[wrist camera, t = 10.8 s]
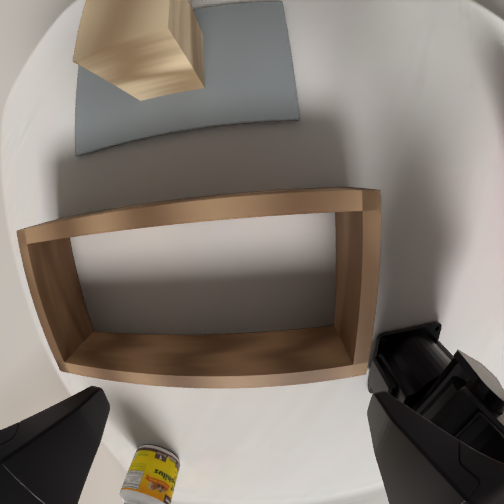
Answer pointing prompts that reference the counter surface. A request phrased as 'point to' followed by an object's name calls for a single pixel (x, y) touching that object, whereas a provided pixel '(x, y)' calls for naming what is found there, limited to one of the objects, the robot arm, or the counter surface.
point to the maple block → (142, 45)
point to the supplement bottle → (150, 476)
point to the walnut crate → (212, 345)
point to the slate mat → (216, 83)
